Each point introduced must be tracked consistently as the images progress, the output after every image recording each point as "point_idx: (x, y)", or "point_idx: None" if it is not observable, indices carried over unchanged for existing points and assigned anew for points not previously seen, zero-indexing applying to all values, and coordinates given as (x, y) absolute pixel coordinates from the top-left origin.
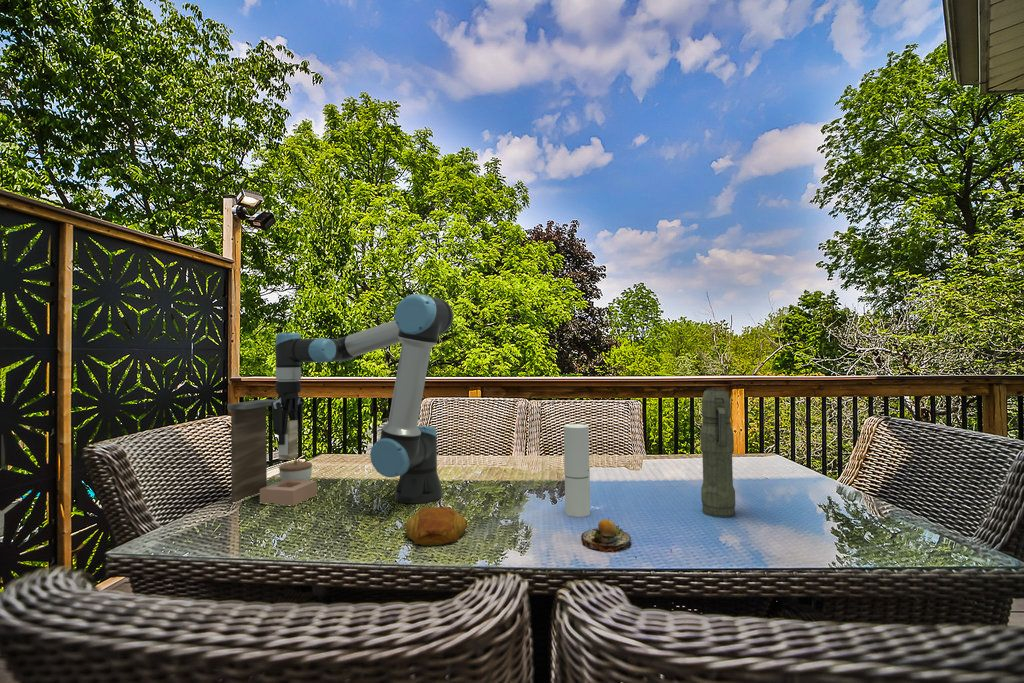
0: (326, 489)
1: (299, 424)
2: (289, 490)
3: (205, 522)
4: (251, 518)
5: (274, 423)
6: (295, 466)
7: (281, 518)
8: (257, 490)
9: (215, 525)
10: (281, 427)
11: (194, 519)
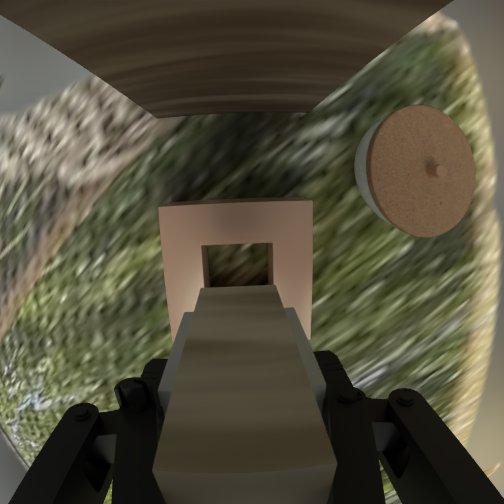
0: (374, 294)
1: (384, 462)
2: (172, 331)
3: (23, 181)
4: (73, 274)
5: (40, 476)
6: (401, 195)
7: (100, 348)
8: (262, 108)
9: (17, 226)
10: (98, 487)
11: (33, 130)
